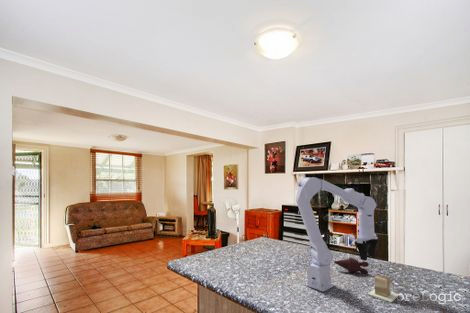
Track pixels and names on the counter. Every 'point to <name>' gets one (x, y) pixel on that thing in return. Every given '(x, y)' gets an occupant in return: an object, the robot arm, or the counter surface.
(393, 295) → the coaster
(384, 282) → the block
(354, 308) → the counter surface
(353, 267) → the icecream
